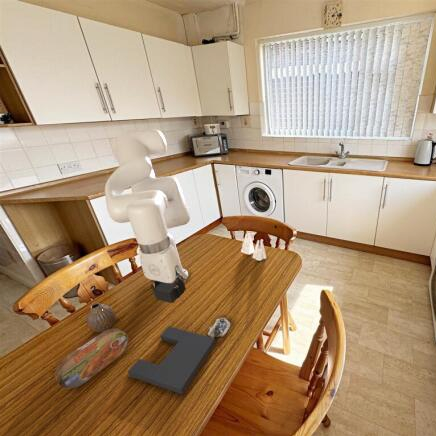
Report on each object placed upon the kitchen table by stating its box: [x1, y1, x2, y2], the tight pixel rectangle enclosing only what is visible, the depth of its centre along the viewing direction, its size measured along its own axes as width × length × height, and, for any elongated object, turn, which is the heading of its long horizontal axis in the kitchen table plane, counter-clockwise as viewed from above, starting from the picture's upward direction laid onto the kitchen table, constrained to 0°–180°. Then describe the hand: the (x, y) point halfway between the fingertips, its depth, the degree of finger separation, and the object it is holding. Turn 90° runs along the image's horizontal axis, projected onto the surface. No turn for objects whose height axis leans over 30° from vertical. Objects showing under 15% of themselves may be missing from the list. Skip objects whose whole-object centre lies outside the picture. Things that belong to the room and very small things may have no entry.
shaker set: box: [240, 233, 267, 261], centre depth 105 cm, size 12×4×11 cm, turn 58°
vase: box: [85, 302, 117, 333], centre depth 72 cm, size 7×7×9 cm
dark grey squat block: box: [152, 278, 187, 304], centre depth 72 cm, size 6×6×4 cm
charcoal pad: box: [127, 325, 217, 396], centre depth 63 cm, size 16×14×2 cm
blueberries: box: [206, 317, 232, 339], centre depth 72 cm, size 7×8×2 cm
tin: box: [54, 328, 129, 389], centre depth 61 cm, size 15×3×8 cm, turn 148°
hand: (171, 292), depth 73 cm, fingers closed on dark grey squat block, 6 cm apart
